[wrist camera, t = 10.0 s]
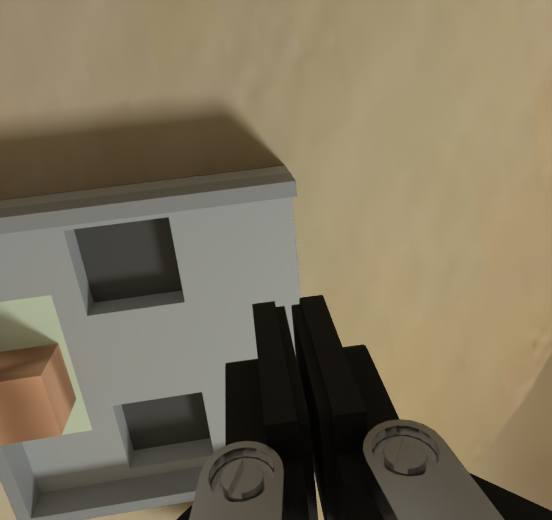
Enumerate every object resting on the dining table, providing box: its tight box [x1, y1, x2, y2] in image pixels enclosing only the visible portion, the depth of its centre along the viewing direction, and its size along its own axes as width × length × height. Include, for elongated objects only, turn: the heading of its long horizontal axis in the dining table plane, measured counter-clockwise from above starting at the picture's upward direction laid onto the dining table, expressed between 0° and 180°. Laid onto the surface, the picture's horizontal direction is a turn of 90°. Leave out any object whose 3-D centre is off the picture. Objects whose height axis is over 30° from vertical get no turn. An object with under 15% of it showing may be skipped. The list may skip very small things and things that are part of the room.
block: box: [0, 343, 76, 445], centre depth 35 cm, size 5×5×4 cm
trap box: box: [0, 165, 316, 520], centre depth 37 cm, size 24×25×5 cm
